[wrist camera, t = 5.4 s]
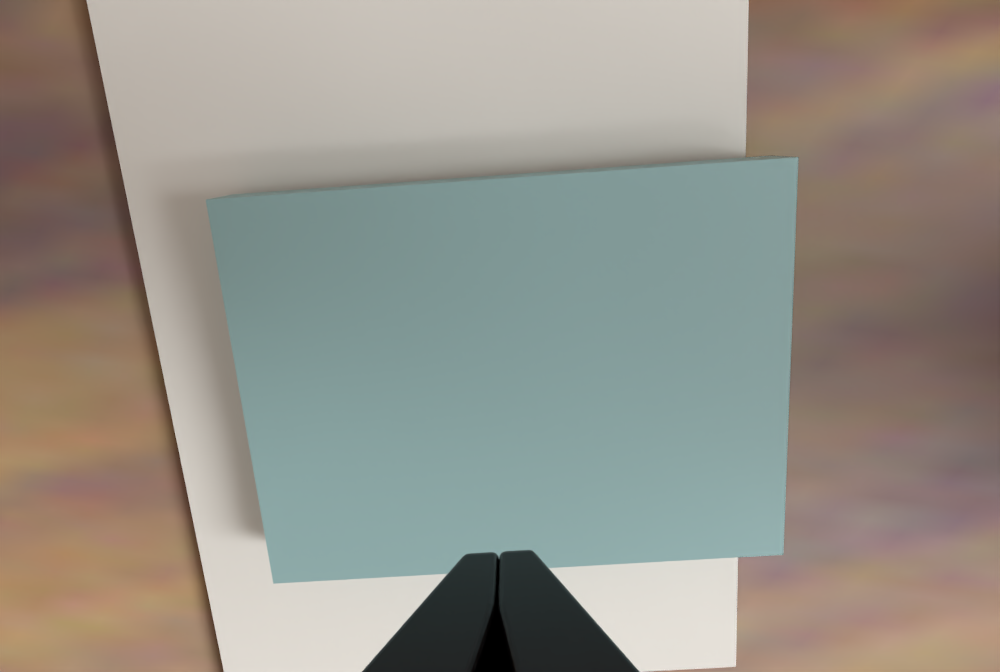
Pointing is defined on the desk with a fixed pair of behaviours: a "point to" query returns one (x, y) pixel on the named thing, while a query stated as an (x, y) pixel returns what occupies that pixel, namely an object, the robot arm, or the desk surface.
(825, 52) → the desk surface
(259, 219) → the tile
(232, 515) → the mat
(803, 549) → the desk surface
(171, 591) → the desk surface
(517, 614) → the robot arm
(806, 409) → the desk surface
